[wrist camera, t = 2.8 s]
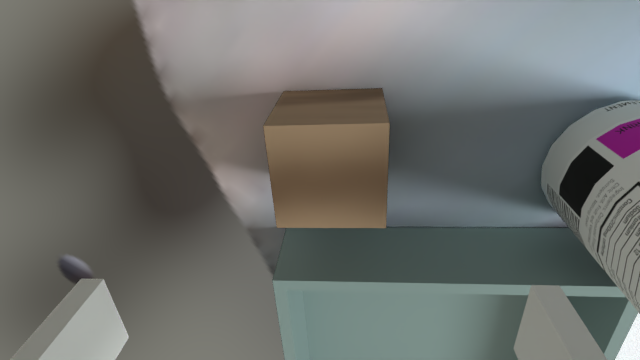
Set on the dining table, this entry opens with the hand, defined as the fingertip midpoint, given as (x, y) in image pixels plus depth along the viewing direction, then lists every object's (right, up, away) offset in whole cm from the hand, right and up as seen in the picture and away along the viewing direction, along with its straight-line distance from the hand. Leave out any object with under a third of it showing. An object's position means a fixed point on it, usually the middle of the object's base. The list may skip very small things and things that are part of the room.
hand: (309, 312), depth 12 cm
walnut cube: (+1, +7, +13) cm, 15 cm away
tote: (+9, -9, +21) cm, 25 cm away
